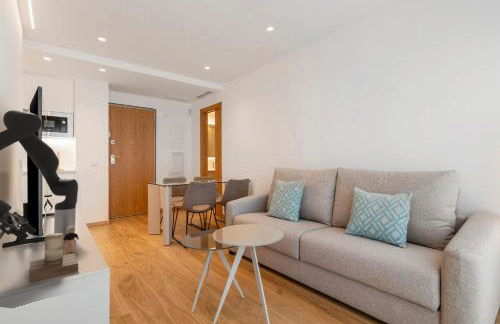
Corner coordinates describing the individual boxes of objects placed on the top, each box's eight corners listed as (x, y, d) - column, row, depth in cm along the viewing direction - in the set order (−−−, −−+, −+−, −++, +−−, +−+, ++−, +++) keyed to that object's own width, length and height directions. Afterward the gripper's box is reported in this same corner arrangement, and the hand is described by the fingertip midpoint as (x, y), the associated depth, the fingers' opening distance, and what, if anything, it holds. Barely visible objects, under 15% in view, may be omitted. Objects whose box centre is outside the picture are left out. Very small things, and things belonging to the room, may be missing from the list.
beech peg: (43, 268, 96) (44, 234, 97) (61, 264, 100) (62, 232, 100) (44, 273, 92) (45, 238, 92) (63, 269, 96) (64, 235, 96)
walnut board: (29, 269, 97) (30, 261, 97) (73, 260, 106) (73, 253, 106) (29, 281, 86) (30, 273, 86) (78, 271, 96) (78, 263, 96)
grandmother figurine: (66, 256, 111) (67, 227, 111) (59, 255, 112) (59, 227, 112) (81, 250, 118) (81, 224, 119) (74, 250, 119) (75, 223, 119)
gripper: (-10, 201, 83) (33, 232, 88) (8, 196, 96) (44, 223, 101) (-33, 218, 81) (13, 249, 86) (-12, 211, 93) (27, 238, 98)
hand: (30, 235), depth 93 cm, fingers open, 8 cm apart
